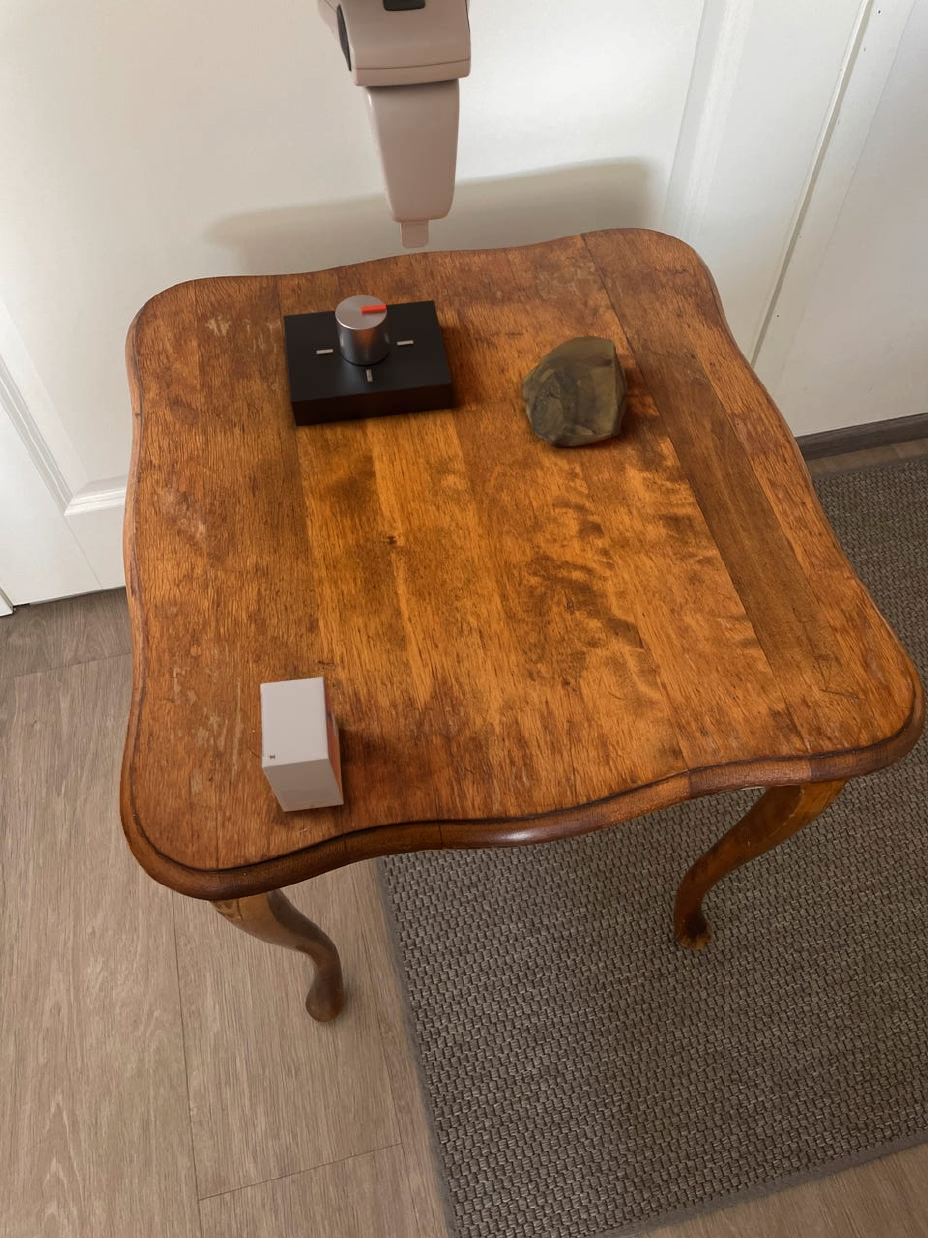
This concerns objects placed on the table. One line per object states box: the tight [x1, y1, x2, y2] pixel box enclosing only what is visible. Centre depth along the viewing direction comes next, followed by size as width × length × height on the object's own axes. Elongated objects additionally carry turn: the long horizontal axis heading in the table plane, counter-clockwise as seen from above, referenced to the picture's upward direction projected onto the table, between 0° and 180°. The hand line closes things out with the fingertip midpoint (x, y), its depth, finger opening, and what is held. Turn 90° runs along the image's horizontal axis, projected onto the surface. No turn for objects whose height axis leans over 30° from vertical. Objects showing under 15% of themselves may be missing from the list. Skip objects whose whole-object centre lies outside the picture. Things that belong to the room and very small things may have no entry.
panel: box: [282, 299, 453, 427], centre depth 82 cm, size 14×11×3 cm
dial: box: [335, 294, 390, 365], centre depth 79 cm, size 4×4×4 cm
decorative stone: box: [521, 335, 628, 448], centre depth 80 cm, size 10×9×4 cm
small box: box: [259, 676, 345, 813], centre depth 60 cm, size 6×4×8 cm
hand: (405, 198), depth 63 cm, fingers open, 8 cm apart
